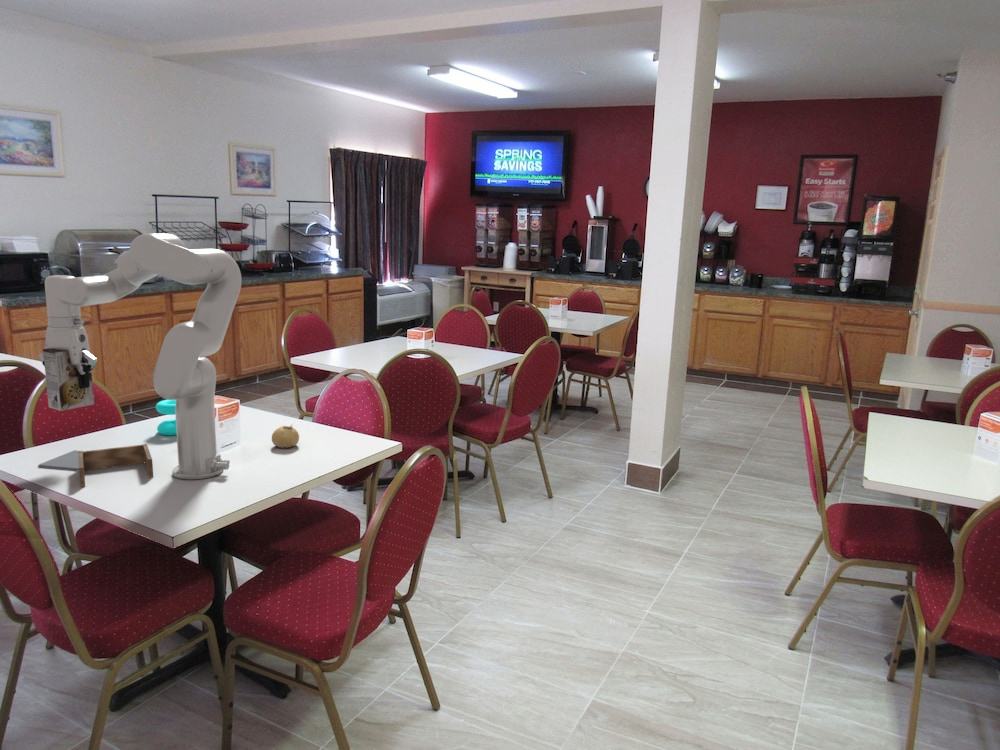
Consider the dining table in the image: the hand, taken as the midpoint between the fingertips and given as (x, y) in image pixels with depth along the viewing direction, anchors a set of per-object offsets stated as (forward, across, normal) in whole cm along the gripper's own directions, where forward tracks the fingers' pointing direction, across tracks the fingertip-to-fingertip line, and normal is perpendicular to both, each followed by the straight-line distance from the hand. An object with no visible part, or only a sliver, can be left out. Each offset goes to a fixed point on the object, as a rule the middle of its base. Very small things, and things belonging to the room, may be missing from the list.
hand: (70, 386), depth 188 cm
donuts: (+21, -9, -32) cm, 39 cm away
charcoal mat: (+21, -1, 0) cm, 21 cm away
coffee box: (+6, 0, 0) cm, 6 cm away
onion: (+21, -49, -27) cm, 59 cm away
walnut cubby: (+21, -17, +6) cm, 28 cm away
